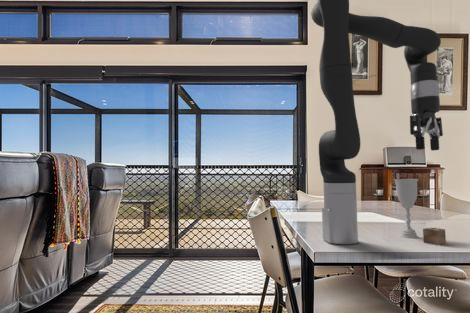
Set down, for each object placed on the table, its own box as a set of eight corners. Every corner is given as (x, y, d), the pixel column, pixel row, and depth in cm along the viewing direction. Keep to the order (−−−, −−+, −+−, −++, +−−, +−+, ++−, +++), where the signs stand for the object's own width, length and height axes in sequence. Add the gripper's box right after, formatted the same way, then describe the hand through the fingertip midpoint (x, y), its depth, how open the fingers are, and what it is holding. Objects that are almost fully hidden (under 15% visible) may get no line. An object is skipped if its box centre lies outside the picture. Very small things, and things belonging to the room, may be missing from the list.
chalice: (425, 239, 93) (422, 179, 94) (400, 238, 94) (398, 179, 95) (416, 234, 100) (413, 178, 101) (393, 234, 101) (391, 179, 103)
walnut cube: (423, 242, 88) (422, 227, 88) (430, 241, 90) (429, 226, 91) (438, 245, 85) (438, 229, 85) (445, 243, 87) (445, 228, 87)
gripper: (425, 91, 89) (428, 148, 88) (449, 97, 96) (452, 149, 95) (399, 97, 95) (402, 150, 94) (424, 102, 102) (427, 151, 101)
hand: (428, 149), depth 94 cm, fingers open, 8 cm apart
